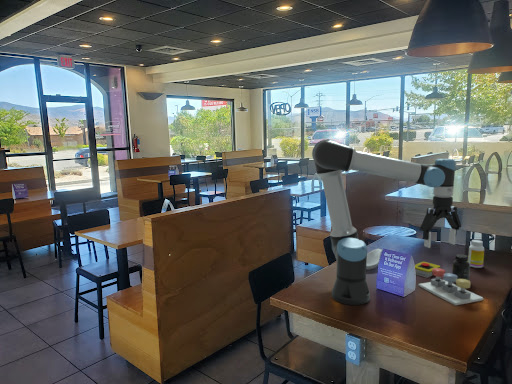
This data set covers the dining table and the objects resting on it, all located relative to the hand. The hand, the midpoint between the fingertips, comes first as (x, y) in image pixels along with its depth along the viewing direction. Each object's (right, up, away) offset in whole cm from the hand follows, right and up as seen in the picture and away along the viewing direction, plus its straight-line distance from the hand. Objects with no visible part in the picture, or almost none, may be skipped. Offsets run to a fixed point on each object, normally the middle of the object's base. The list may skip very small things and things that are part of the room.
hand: (439, 245), depth 163 cm
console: (+2, -19, -4) cm, 20 cm away
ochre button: (+4, -17, -10) cm, 20 cm away
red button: (0, -15, +2) cm, 15 cm away
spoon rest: (-19, -15, +31) cm, 39 cm away
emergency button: (+4, -16, +21) cm, 27 cm away
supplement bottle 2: (+31, -14, +27) cm, 44 cm away
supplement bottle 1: (+13, -17, +8) cm, 23 cm away
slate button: (+2, -16, -4) cm, 16 cm away
